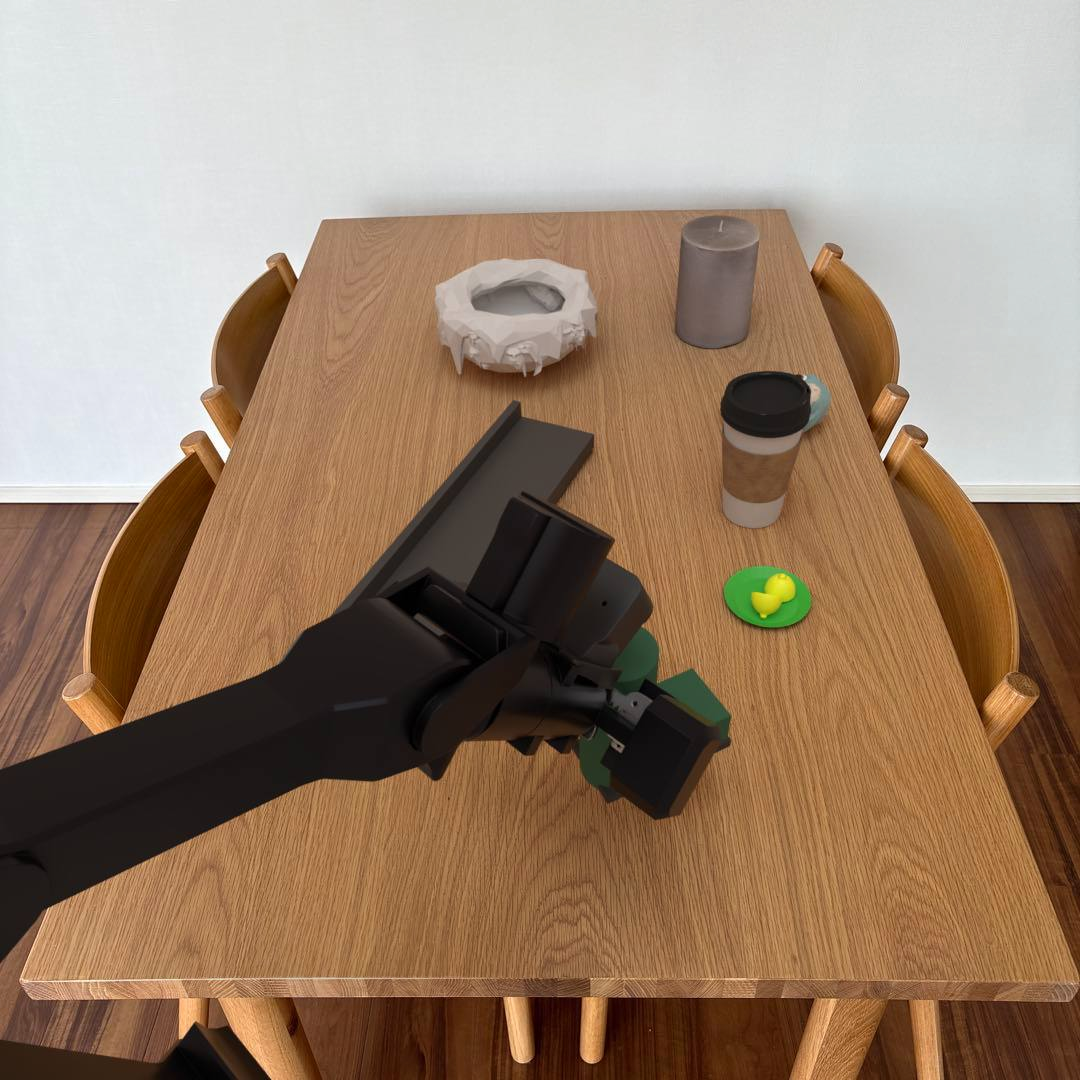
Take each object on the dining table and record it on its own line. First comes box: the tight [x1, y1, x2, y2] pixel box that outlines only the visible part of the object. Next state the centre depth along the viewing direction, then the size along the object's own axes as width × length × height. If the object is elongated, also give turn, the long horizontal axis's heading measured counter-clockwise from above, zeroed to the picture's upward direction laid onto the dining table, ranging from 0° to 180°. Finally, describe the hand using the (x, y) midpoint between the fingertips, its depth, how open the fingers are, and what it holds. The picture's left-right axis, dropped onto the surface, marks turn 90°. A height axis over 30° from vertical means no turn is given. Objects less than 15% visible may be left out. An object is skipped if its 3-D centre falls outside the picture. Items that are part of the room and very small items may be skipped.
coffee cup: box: [719, 370, 811, 529], centre depth 95 cm, size 8×8×15 cm
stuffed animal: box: [785, 371, 832, 434], centre depth 109 cm, size 11×7×12 cm
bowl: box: [433, 257, 599, 378], centre depth 120 cm, size 21×20×10 cm
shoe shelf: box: [329, 399, 595, 636], centre depth 94 cm, size 44×10×4 cm, turn 155°
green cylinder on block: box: [571, 625, 732, 805], centre depth 66 cm, size 11×5×12 cm, turn 117°
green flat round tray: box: [723, 565, 812, 628], centre depth 89 cm, size 8×8×3 cm
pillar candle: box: [674, 214, 761, 350], centre depth 121 cm, size 10×10×15 cm
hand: (629, 695), depth 66 cm, fingers closed on green cylinder on block, 5 cm apart
